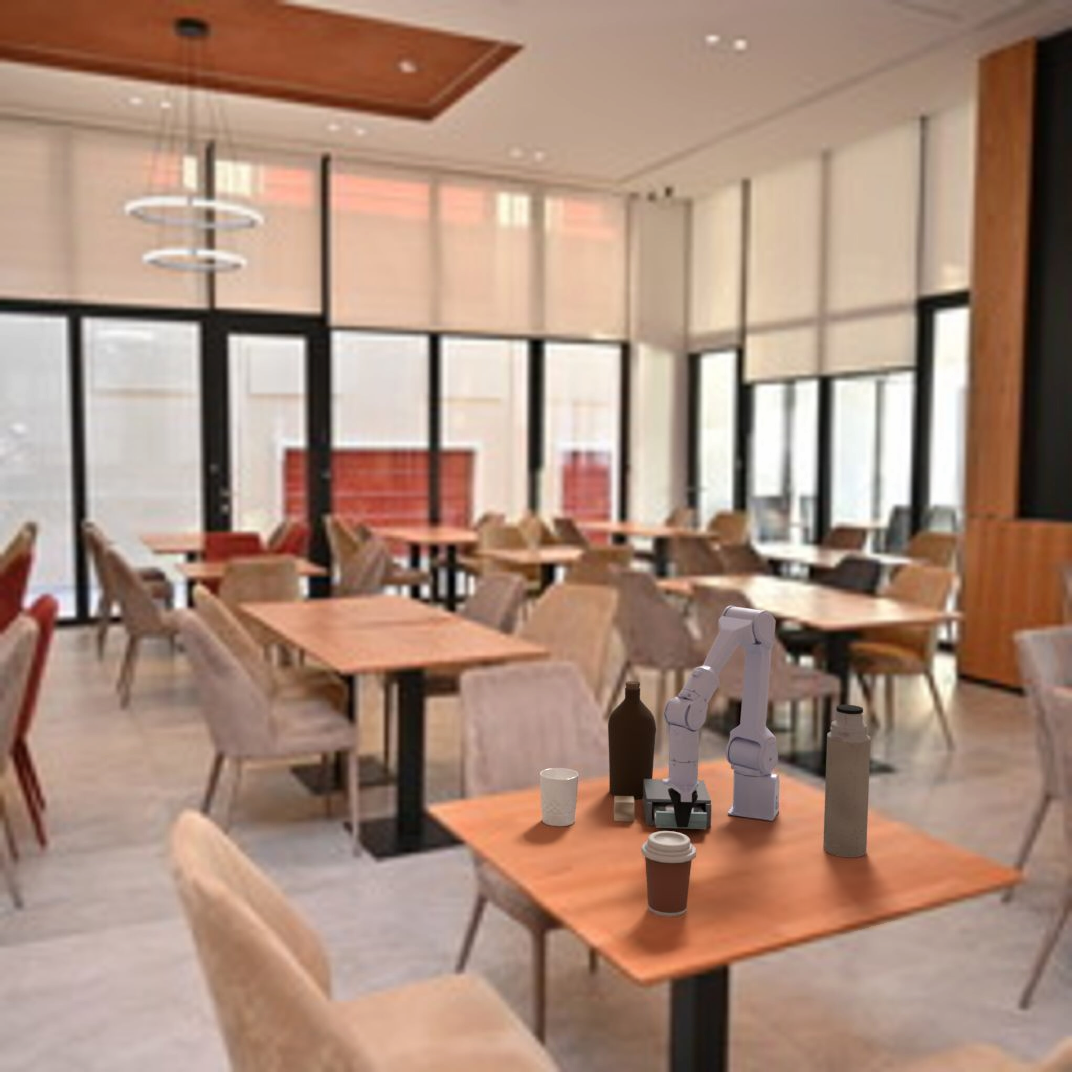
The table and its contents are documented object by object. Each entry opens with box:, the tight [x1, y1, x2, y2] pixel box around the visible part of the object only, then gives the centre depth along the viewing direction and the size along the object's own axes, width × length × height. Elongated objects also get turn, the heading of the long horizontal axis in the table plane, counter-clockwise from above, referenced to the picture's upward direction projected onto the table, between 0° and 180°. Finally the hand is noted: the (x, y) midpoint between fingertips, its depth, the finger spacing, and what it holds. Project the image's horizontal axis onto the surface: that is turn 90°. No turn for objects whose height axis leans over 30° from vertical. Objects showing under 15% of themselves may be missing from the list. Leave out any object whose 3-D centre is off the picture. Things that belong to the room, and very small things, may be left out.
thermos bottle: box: [822, 704, 872, 858], centre depth 204 cm, size 8×8×28 cm
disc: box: [666, 804, 694, 812], centre depth 216 cm, size 6×6×2 cm
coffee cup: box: [640, 830, 697, 918], centre depth 177 cm, size 9×9×12 cm
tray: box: [652, 802, 707, 830], centre depth 218 cm, size 10×12×3 cm
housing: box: [642, 778, 712, 828], centre depth 224 cm, size 13×14×5 cm
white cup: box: [539, 767, 579, 827], centre depth 219 cm, size 8×8×10 cm
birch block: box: [613, 795, 635, 823], centre depth 221 cm, size 4×4×4 cm
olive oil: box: [607, 680, 657, 800], centre depth 237 cm, size 11×11×25 cm
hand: (681, 826), depth 210 cm, fingers closed
